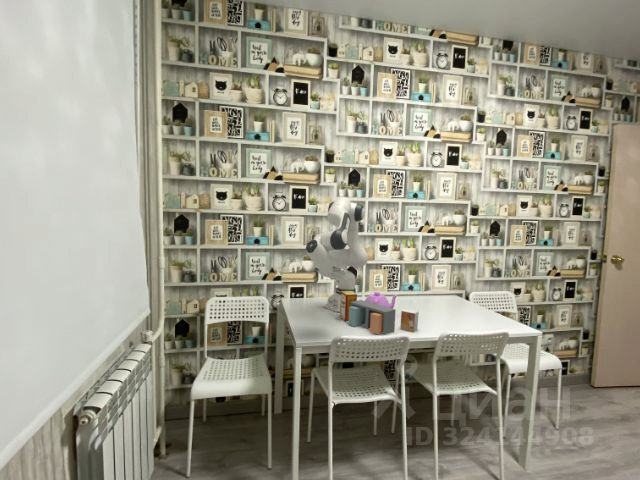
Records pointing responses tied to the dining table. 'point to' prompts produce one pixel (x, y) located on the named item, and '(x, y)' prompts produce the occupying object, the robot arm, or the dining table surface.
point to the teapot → (381, 300)
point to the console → (372, 308)
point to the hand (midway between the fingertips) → (340, 282)
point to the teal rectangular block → (356, 316)
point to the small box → (409, 320)
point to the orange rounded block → (376, 323)
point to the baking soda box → (346, 303)
